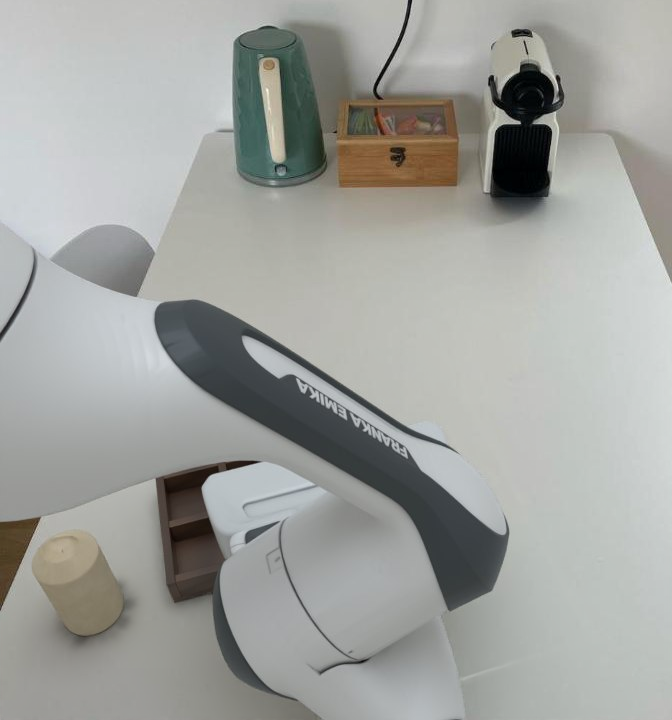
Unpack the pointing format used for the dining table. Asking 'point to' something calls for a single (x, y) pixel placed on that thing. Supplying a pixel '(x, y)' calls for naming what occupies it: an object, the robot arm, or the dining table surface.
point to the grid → (189, 530)
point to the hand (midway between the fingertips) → (312, 420)
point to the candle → (78, 582)
